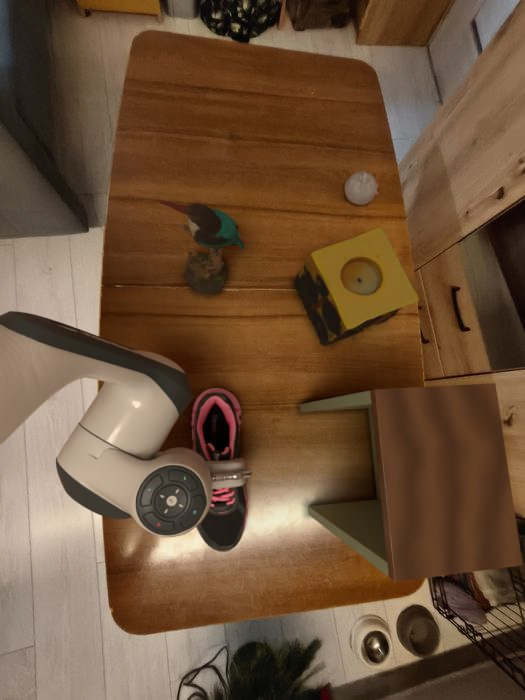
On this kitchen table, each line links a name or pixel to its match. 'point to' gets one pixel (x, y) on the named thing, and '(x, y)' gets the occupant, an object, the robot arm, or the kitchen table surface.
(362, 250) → the candle
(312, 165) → the kitchen table surface
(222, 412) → the running shoe
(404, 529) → the board
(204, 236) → the sculpture
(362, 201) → the garlic bulb
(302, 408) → the dark grey angular piece
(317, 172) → the kitchen table surface
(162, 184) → the kitchen table surface
